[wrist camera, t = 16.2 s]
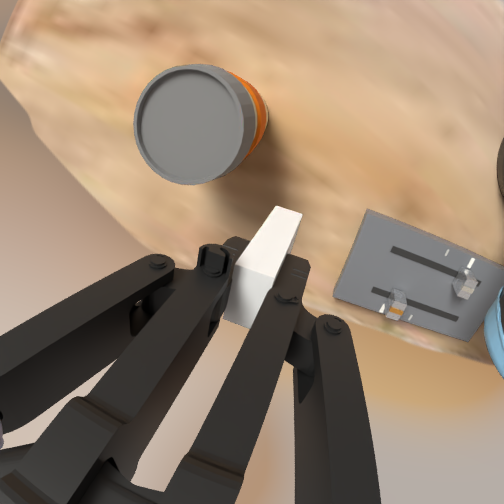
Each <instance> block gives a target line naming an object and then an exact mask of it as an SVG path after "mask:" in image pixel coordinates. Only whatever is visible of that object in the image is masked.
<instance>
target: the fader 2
mask: <svg viewBox="0 0 504 504" xmlns="http://www.w3.org/2000/svg"><path fill="white" fill-rule="evenodd" d="M477 283H478V282H477V280H476V278H475V276H474V274H473V272H472V271H471V270H468V269H466V268H464V267H461V269H460V270H459V272H458V274H457V276H456V278H455V279H454V281H453V283H452V285H453V287H454V289H455V292H456V294H457V296H459V297H461V298H464V299H467V300H468V298H469V297H470V295H471V294H472V293H473V291H474V288H475V287H476V285H477Z"/></svg>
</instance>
